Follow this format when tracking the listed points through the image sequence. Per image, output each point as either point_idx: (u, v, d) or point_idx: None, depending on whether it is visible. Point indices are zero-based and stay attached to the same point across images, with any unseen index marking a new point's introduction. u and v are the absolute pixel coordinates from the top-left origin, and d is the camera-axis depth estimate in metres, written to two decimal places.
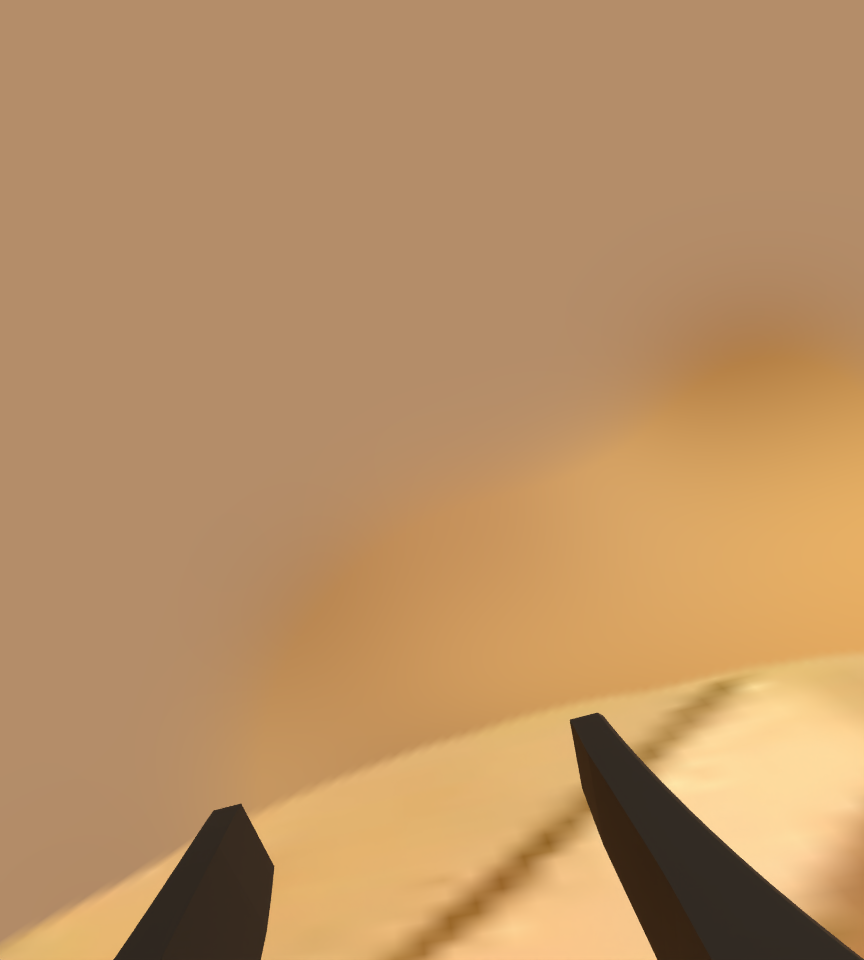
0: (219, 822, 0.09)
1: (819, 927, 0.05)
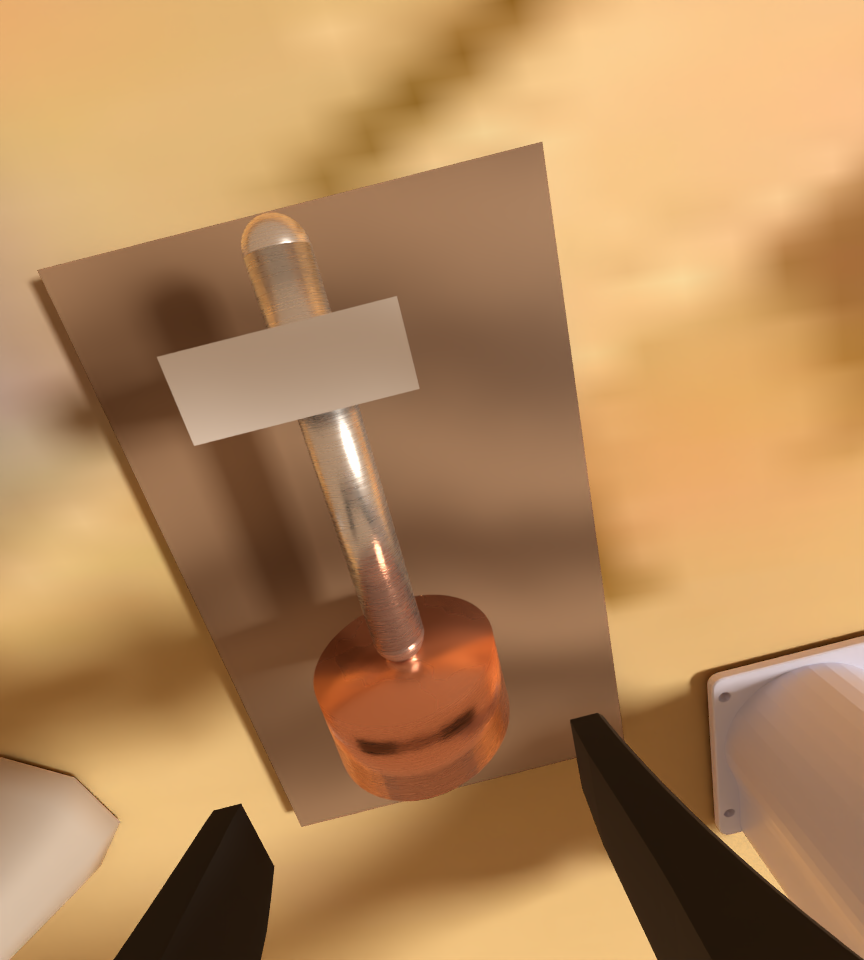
0: (219, 822, 0.09)
1: (819, 927, 0.05)
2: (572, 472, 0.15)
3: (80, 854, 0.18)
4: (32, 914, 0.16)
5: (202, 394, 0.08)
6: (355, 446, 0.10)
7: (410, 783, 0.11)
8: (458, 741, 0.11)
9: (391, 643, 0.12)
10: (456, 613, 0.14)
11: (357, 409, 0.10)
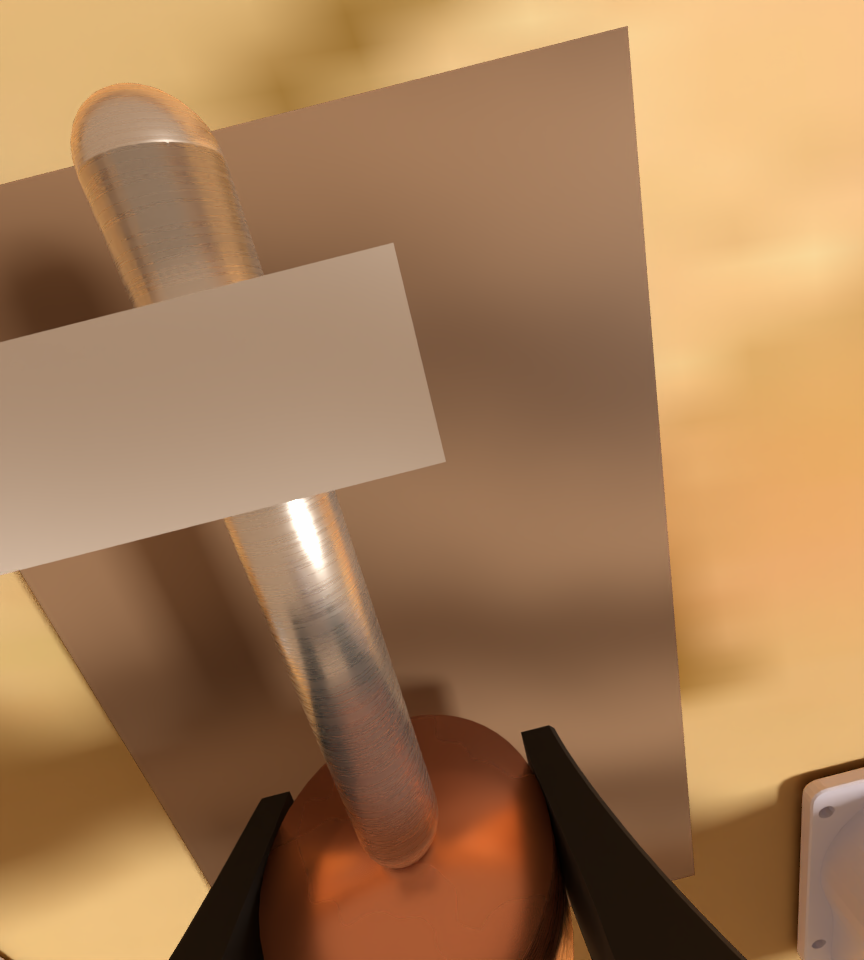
0: (269, 808, 0.09)
1: (731, 949, 0.05)
2: (646, 532, 0.11)
3: None
4: None
5: None
6: (317, 542, 0.06)
7: None
8: None
9: (385, 848, 0.07)
10: (485, 760, 0.09)
11: None
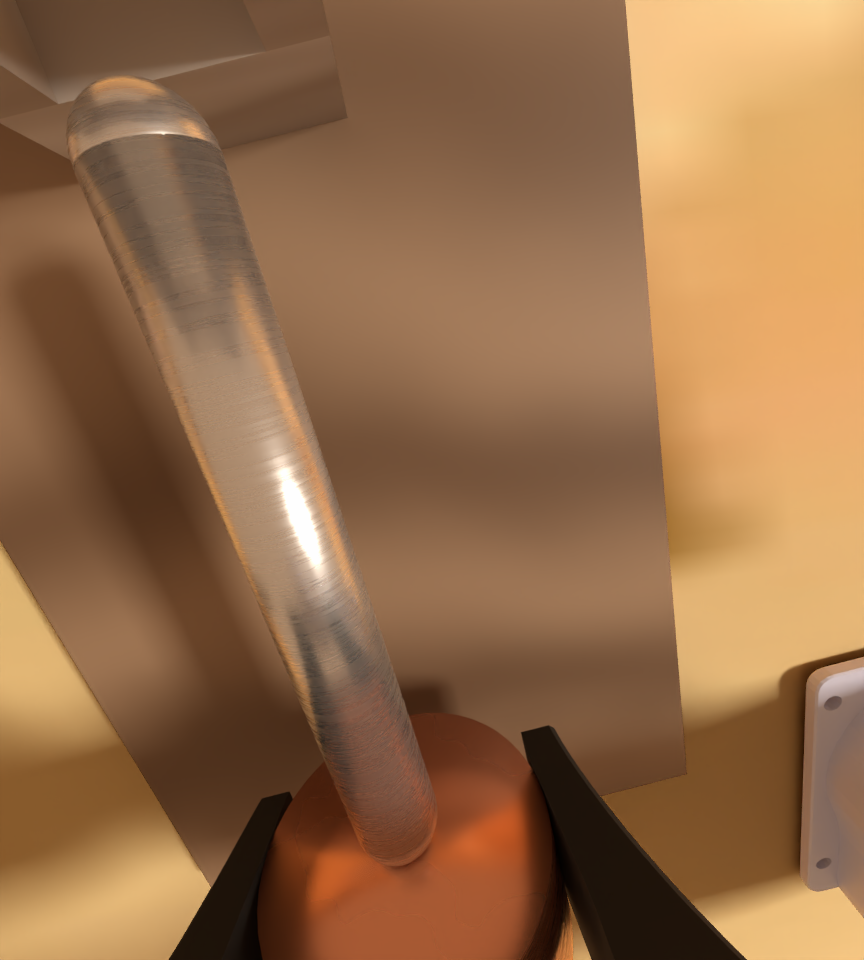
0: (269, 809, 0.09)
1: (731, 949, 0.05)
2: (627, 334, 0.09)
3: None
4: None
5: None
6: (316, 538, 0.06)
7: None
8: None
9: (384, 846, 0.07)
10: (485, 758, 0.09)
11: (321, 468, 0.06)
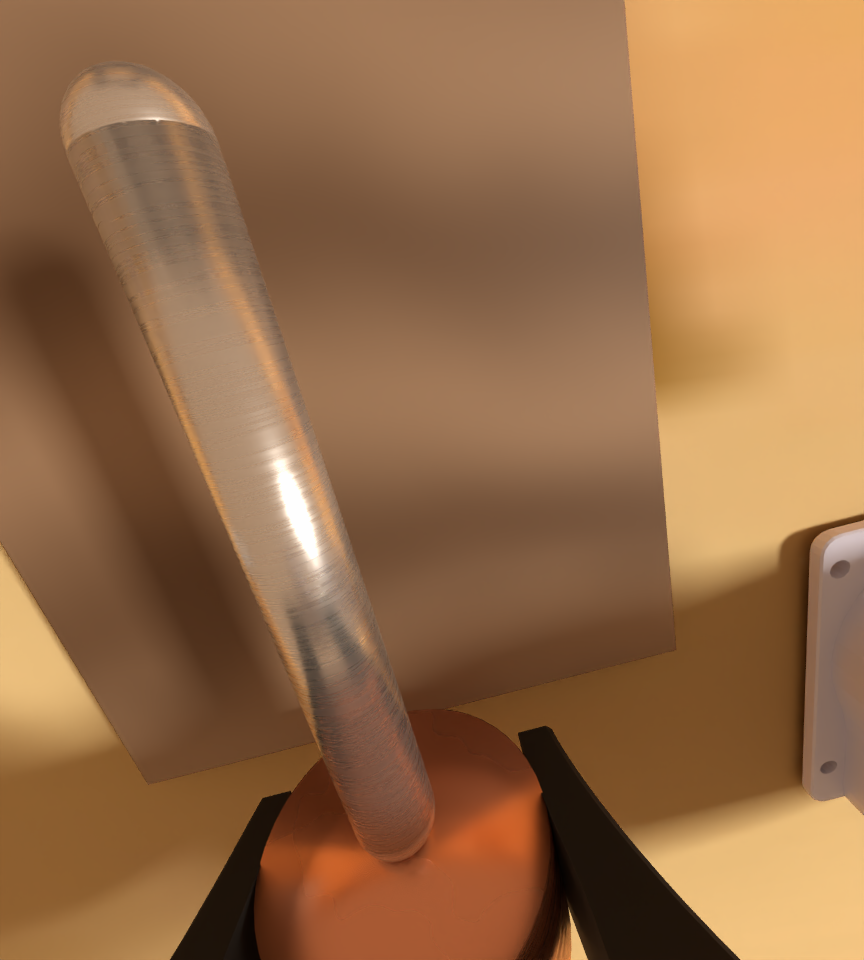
0: (271, 808, 0.09)
1: (726, 951, 0.05)
2: (600, 68, 0.08)
3: None
4: None
5: None
6: (312, 530, 0.06)
7: None
8: None
9: (381, 841, 0.07)
10: (483, 754, 0.09)
11: (317, 460, 0.06)
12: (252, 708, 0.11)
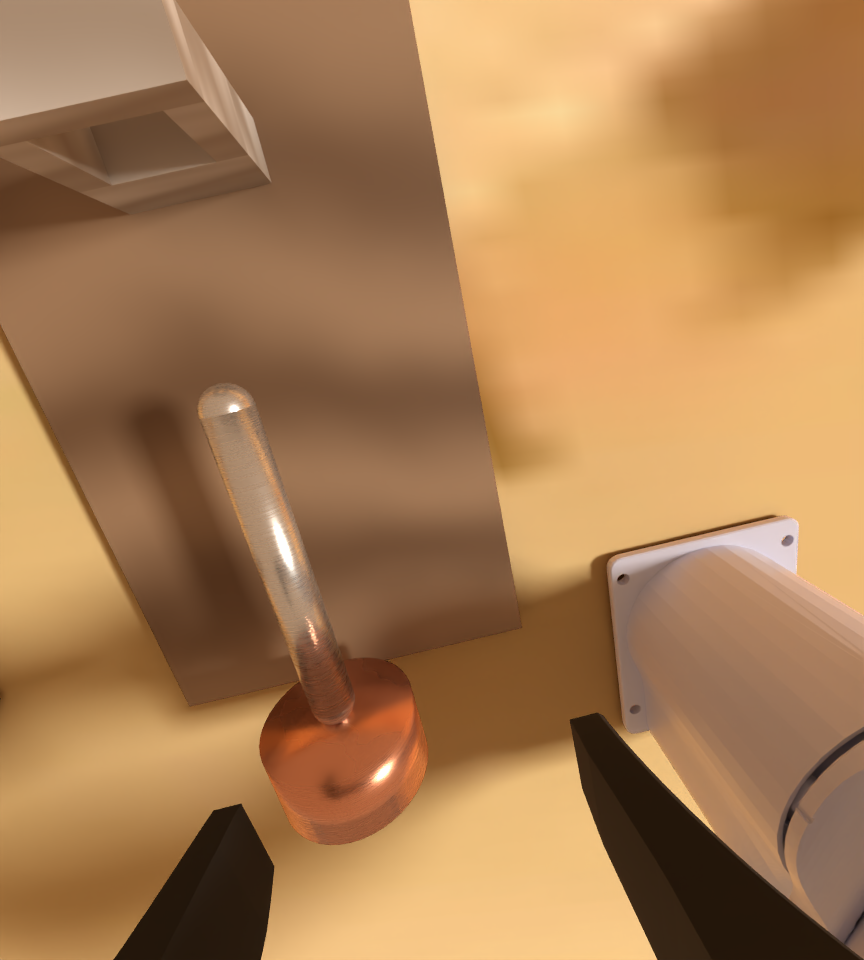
0: (219, 822, 0.09)
1: (819, 927, 0.05)
2: (450, 315, 0.15)
3: None
4: None
5: None
6: (291, 559, 0.13)
7: (333, 830, 0.13)
8: (373, 797, 0.13)
9: (324, 711, 0.14)
10: (386, 678, 0.16)
11: (294, 528, 0.13)
12: (256, 658, 0.18)
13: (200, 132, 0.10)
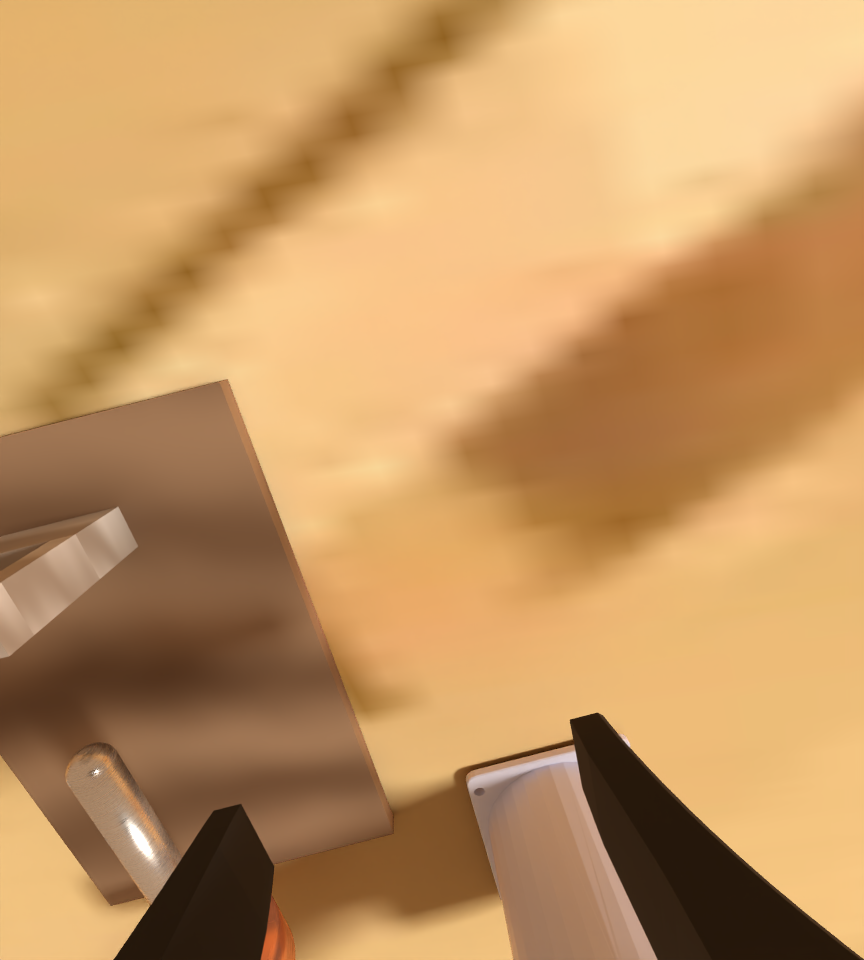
0: (219, 822, 0.09)
1: (819, 927, 0.05)
2: (298, 622, 0.18)
3: None
4: None
5: None
6: (152, 865, 0.16)
7: None
8: None
9: None
10: None
11: (156, 838, 0.16)
12: None
13: None
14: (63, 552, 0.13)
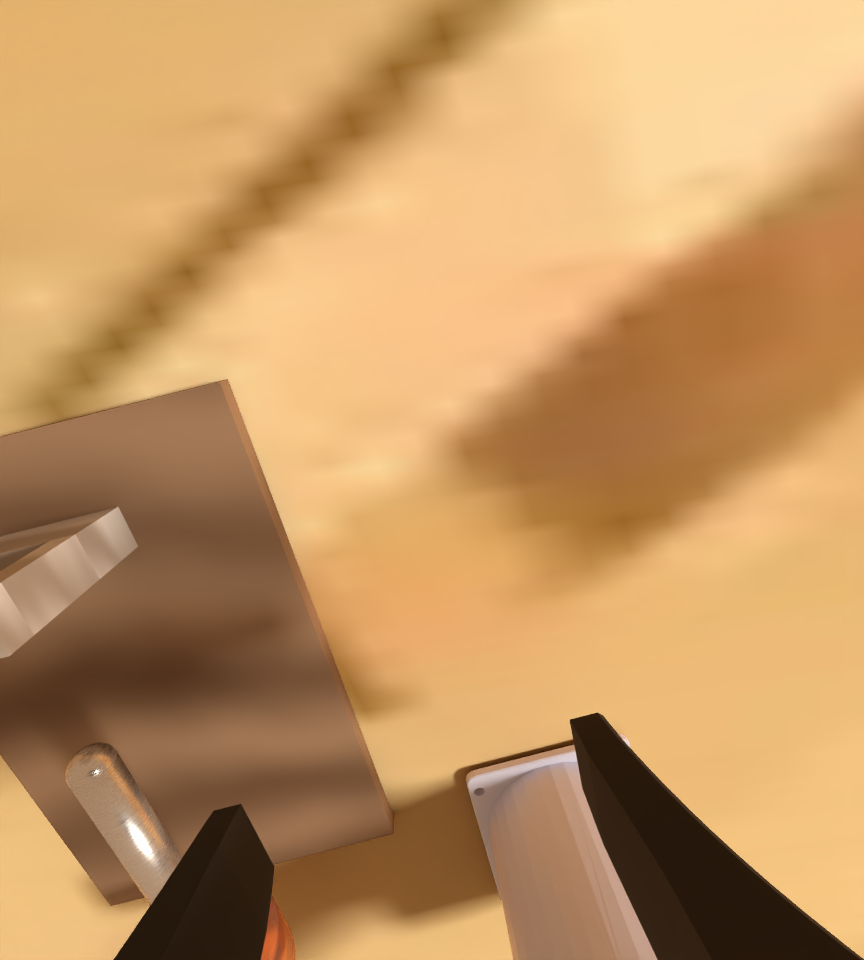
0: (219, 822, 0.09)
1: (819, 927, 0.05)
2: (298, 622, 0.18)
3: None
4: None
5: None
6: (152, 865, 0.16)
7: None
8: None
9: None
10: None
11: (156, 838, 0.16)
12: None
13: None
14: (63, 552, 0.13)
